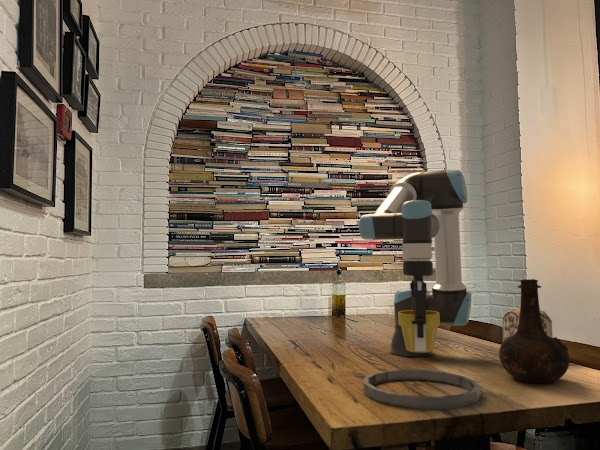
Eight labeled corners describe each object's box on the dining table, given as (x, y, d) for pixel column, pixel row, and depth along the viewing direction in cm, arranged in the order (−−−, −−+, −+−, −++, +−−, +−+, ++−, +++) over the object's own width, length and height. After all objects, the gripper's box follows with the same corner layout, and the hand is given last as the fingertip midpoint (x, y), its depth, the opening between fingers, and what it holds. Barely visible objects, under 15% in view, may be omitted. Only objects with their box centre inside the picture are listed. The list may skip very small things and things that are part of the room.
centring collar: (341, 389, 128) (341, 380, 129) (411, 373, 146) (411, 365, 146) (432, 417, 106) (431, 405, 106) (502, 394, 124) (501, 384, 124)
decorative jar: (554, 359, 165) (552, 305, 167) (522, 361, 164) (520, 306, 165) (532, 353, 177) (530, 302, 178) (502, 354, 175) (500, 303, 176)
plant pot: (405, 354, 121) (404, 314, 122) (394, 347, 131) (393, 310, 132) (446, 354, 122) (445, 313, 123) (432, 346, 132) (431, 309, 133)
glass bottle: (569, 391, 126) (565, 281, 128) (495, 383, 135) (492, 280, 137) (570, 376, 142) (566, 278, 144) (503, 370, 151) (501, 277, 152)
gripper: (436, 260, 116) (438, 356, 115) (429, 260, 139) (430, 340, 137) (403, 260, 118) (405, 354, 116) (402, 260, 140) (403, 339, 139)
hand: (419, 347), depth 127 cm, fingers closed on plant pot, 10 cm apart
